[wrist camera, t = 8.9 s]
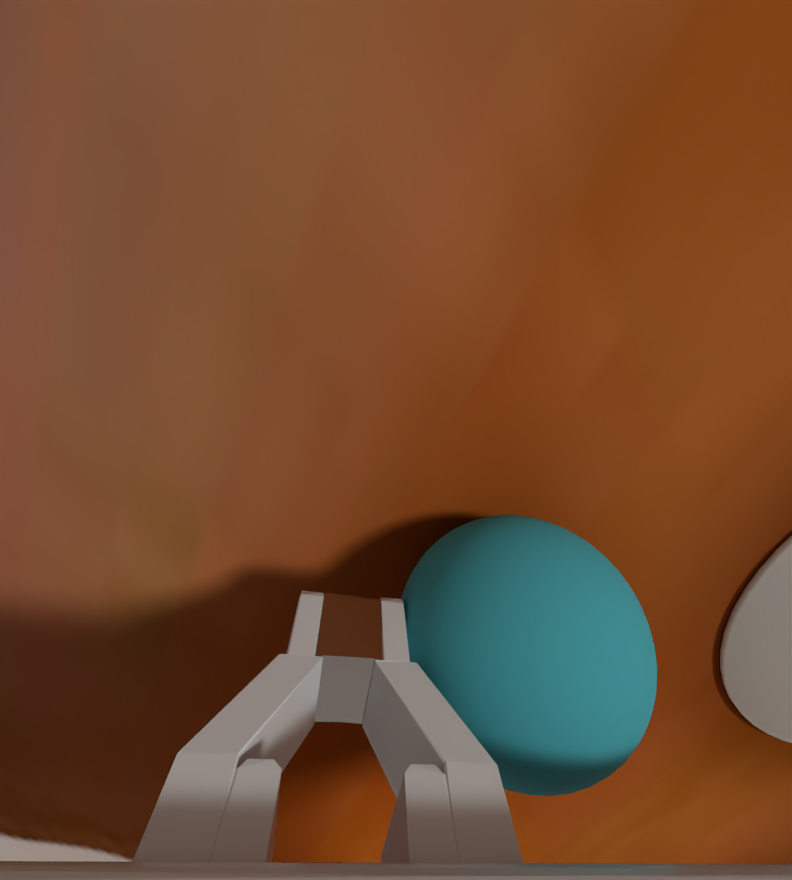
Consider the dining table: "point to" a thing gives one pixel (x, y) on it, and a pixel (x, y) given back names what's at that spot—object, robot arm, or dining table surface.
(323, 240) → the dining table surface
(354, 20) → the dining table surface
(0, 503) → the dining table surface
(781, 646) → the disc
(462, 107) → the dining table surface
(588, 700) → the ball
